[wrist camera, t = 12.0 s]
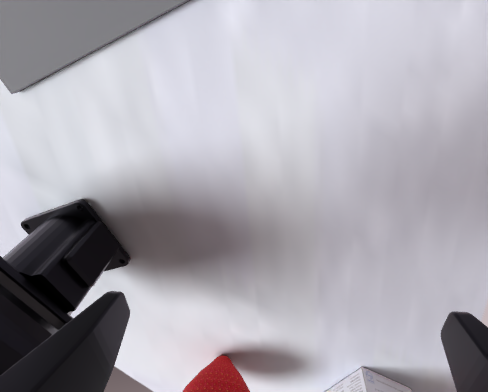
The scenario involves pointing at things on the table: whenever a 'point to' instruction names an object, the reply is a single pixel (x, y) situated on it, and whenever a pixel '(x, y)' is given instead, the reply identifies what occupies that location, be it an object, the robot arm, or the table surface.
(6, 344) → the robot arm
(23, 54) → the mat
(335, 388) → the light bulb box
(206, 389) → the strawberry
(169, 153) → the table surface
